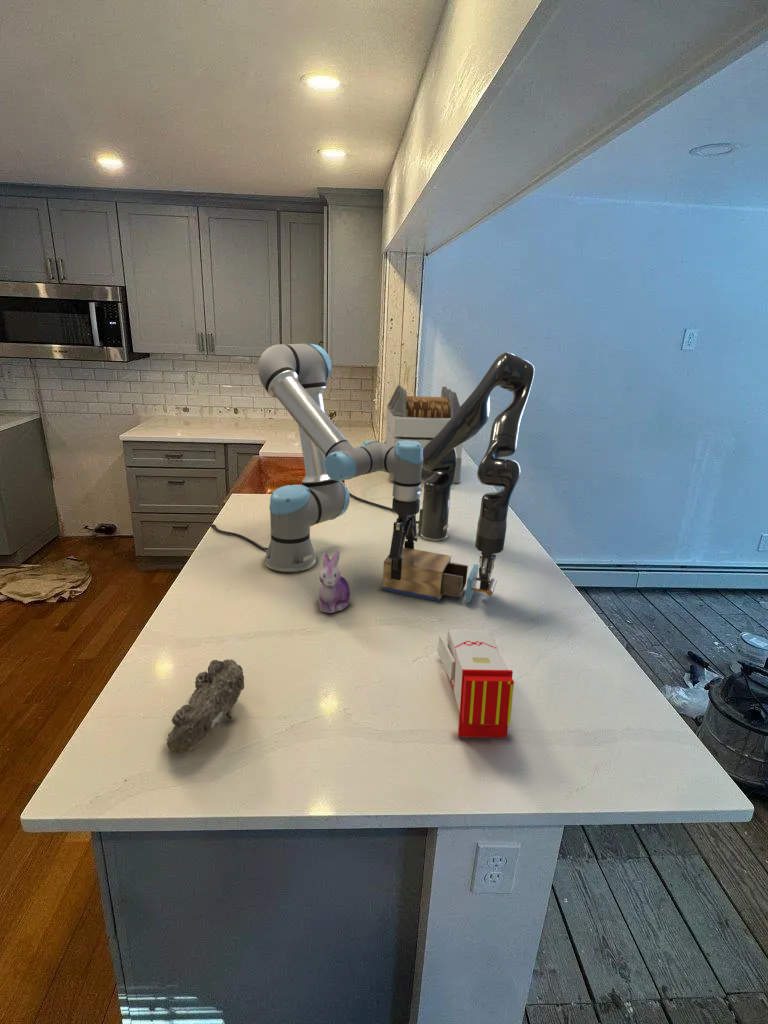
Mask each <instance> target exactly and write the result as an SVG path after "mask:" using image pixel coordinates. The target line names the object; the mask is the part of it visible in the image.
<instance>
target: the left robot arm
mask: <svg viewBox="0 0 768 1024" xmlns="http://www.w3.org/2000/svg"><path fill="white" fill-rule="evenodd" d="M257 363H258V364H257V372H258V377H259V381H260V383H261V384H262V386H263V388H264V389H265V391H266V393H268V395H269V396H270V397H272V398H274V399H276V400H278V401H279V403H281V405H282V406H283V408H284V409H285V410H286V411H287V412H288V414H289V415H290V416H291V417H292V419H293V420H294V421H295V422H296V423H297V425H298V432H299V438H300V445H301V451H302V459H303V464H304V471H305V476H304V477H303V478H302V480H301V483H302V484H292V485H290V484H288V485H287V484H286V485H283V486H281V487H278V488H276V489H274V490H273V492H272V493H271V494H270V498H269V517H270V520H269V521H270V541H269V544H268V547H263V546H262V545H260V544H259V543H257V542H256V541H254V540H252V539H251V538H248V537H247V536H244V535H242V534H239V533H236V532H231V531H226V530H222V529H219V528H218V527H217V526H216V524H211V525H210V528H214V530H215V531H217V532H219V533H222V534H226V535H231V536H236V537H238V538H241V539H244V540H245V541H248V542H250V543H251V544H253V545H254V546H256V547H257V548H259V549H261V550H263V551H266V554H265V566H266V567H267V568H268V569H269V570H271V571H275V572H278V573H285V574H290V573H291V574H292V573H294V574H295V573H300V572H304V571H308V570H310V569H312V568H313V567H314V566H315V565H316V563H317V557H316V552H315V550H314V546H313V544H312V540H311V527H312V526H315V525H319V524H321V523H324V522H327V521H333V520H335V519H336V518H338V517H341V516H342V515H344V514H345V513H346V511H347V510H348V509H349V505H350V502H351V501H350V500H351V498H350V497H351V496H350V495H349V493H350V492H349V489H348V487H347V486H346V484H345V483H344V482H343V481H348V480H351V479H354V478H357V477H360V476H365V475H368V474H372V473H376V472H384V473H388V474H390V473H391V474H394V482H392V483H393V484H392V497H393V498H392V501H391V503H392V505H391V508H392V510H393V511H392V512H393V513H394V514H397V518H396V521H394V522H393V528H392V529H393V530H392V531H393V532H392V536H391V542H390V543H391V544H390V549H389V554H390V555H389V554H388V555H389V558H390V559H392V564H391V579H395V580H401V568H402V558H401V554H402V550H403V547H404V548H410V549H415V542H418V537H417V536H418V530H417V529H418V528H417V524H416V521H417V514H419V513H420V510H421V508H420V505H421V499H420V498H421V493H422V492H424V488H422V487H421V486H422V472H423V467H422V465H423V446H422V444H421V443H419V442H416V441H409V440H403V441H398V442H397V443H396V445H395V446H392V445H388V444H384V442H381V441H378V440H365V441H364V442H363V443H362V444H361V445H360V446H357V447H353V445H352V444H351V443H350V442H349V441H348V439H347V438H346V437H345V436H344V435H343V434H342V432H341V431H340V430H339V428H338V427H337V426H336V425H335V423H333V421H332V420H331V419H330V418H329V416H328V415H327V414H326V411H325V403H324V398H323V393H324V392H325V391H326V389H327V383H326V382H327V381H328V380H329V379H330V377H331V374H332V362H331V358H330V355H329V354H328V353H327V351H326V350H325V349H324V348H323V347H321V346H320V345H319V344H316V343H315V344H314V343H308V342H307V343H306V342H305V343H288V344H285V343H284V344H283V343H280V344H274V345H271V346H269V347H267V348H266V349H265V350H264V351H263V352H262V353H261V355H260V357H259V360H258V362H257Z"/></svg>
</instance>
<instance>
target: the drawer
mask: <svg viewBox="0 0 768 1024" xmlns="http://www.w3.org/2000/svg"><path fill="white" fill-rule="evenodd" d="M468 571H469V565H468V564H462V563H457V562H452V561H451V562H449V563H448V565H447V566H446V568H445V570H444V572H443V573H442V584H441V594H443V595H442V596H449V597H454V598H457V599H460V598H461V597H462V595H463V593H464V590H465V588H466V590H465V591H466V592H465V598H464V602H465V603H467V604H468V603H470V602H471V600H472V598H473V596H474V594H475V593H474V592H478V593H479V592H480V593H483V594H486V596H487V597H492V596H493V593H494V591H495V588H496V585H497V582H498V581H497V579H496V578H490V580H489V586H488V588H487V591H486V590H483V589H480V588H477V583H478V582H480V581H481V580H479V577H478V575H479V564H476V563H474V564H473V566H472V568H471V570H470V572H469V575H468ZM477 581H478V582H477Z"/></svg>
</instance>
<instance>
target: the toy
mask: <svg viewBox="0 0 768 1024" xmlns="http://www.w3.org/2000/svg"><path fill="white" fill-rule="evenodd" d="M446 640H447V643H446V641H445V639H444V636H443V635H442V634H439V637H438V646H437V656H438V657H439V659H440V661H441V663H442V666H443V668H444V670H445V672H446V674H447V677H448V679H449V681H450V684H451V687H452V690H453V693H454V697H455V701H456V705H457V708H458V711H459V714H458V715H459V716H458V730H457V731H458V732H457V737H458V738H508V731H509V726H510V725H511V717H512V707H513V697H514V696H513V695H514V684H515V680H514V679H513V673H514V671H513V670H512V669H508V667H507V665H506V662H505V661H504V659H503V658H502V655H501V653H500V651H499V649H498V647H497V643H496V639H495V637H494V635H493V634H491V632H490V631H489V629H467V628H466V629H465V628H463V629H461V628H460V629H459V628H448V630H447V639H446Z"/></svg>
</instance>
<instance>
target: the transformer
mask: <svg viewBox="0 0 768 1024" xmlns="http://www.w3.org/2000/svg"><path fill="white" fill-rule="evenodd" d="M440 393H441V394H440V396H415V395H414V396H413V395H412V396H411V395H407V394H408V393H407V390H406V389H404V388H403V387H402V385H399V384H398V385H397V386H396V388H395V390H394V392H393V394H392V395H391V398H390V400H389V402H388V404H387V405H386V413H385V414H386V415H385V423H386V428H385V438H384V442H383V443H384V444H388V445H392V446H395V445H396V443H397V442H398V441H403V440H409V441H416V442H419V443H421V444H422V446H423V448H424V447H425V446H426V445H427V444H428V443H429V442H430V441H431V440H432V439H433V438H434V437H435V436H436V435H437V434H438V433H439V432H440V431H441V430H442V429H443V427H444V426H445V425H446V424H447V423H448V422H449V420H450V419H451V418H452V417H453V415H454V414H455V413H456V411H457V410H458V409H459V408H460V406H461V405H460V402H459V398H458V395H457V392H455V391H453V390H452V389H451V388H447V386H442V387H441V392H440ZM455 450H456V457H457V459H456V468H455V475H454V481H453V484H455V483H456V484H459V483H461V472H462V461H463V460H462V453H463V443H462V444H460V445H458V446H457V447H455ZM388 476H389V477H388V478H389V480H390V482H391V483H393V482H394V474H391V473H389V475H388Z"/></svg>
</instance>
